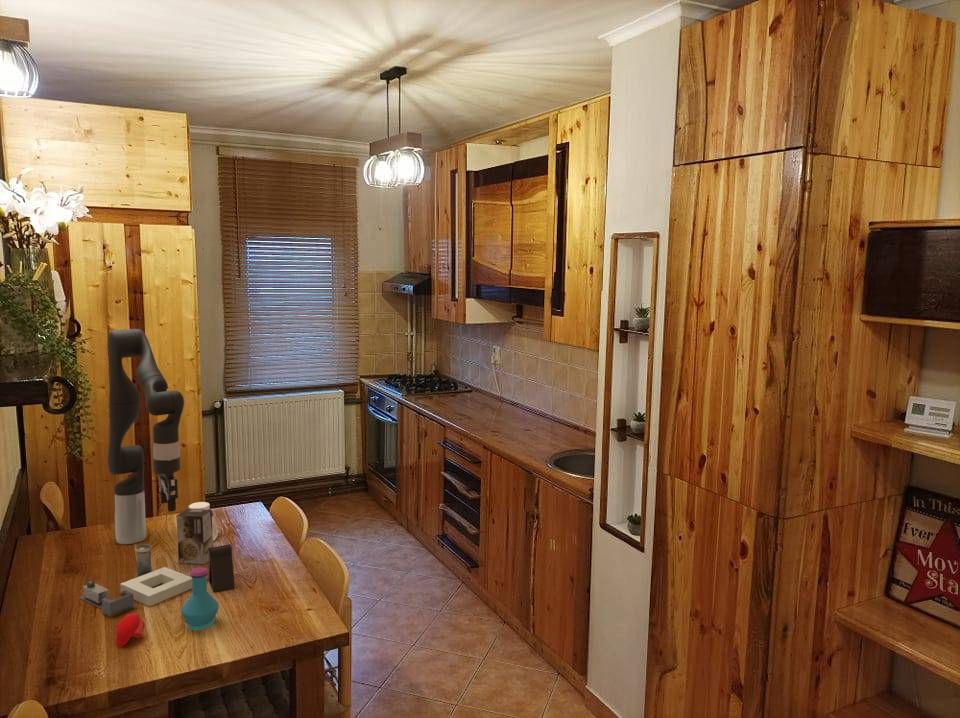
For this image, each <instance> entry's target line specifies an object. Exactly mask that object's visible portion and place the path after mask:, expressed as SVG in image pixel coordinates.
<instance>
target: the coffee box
mask: <svg viewBox="0 0 960 718" xmlns="http://www.w3.org/2000/svg"><path fill="white" fill-rule="evenodd" d="M212 511H213V510H212V509H211V510H200V509H189V508H186V509H184V510H182V511H181V512H179V513H178V514H177V515H175V516H176V517H175V518H176V532H177V533H176V534H177V553H178V554H177V555H178V556H177V557H178V563H179V564H194V565H195V564H197V565H205V564H207V563H208V562H209V548H212V547H214V544H213V543H214V542H213V536H212Z"/></svg>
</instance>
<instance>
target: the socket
mask: <svg viewBox="0 0 960 718" xmlns="http://www.w3.org/2000/svg"><path fill="white" fill-rule="evenodd" d="M119 584H120V594H121V595H122V591H124V590H126V591H128V592H130V593H133V597H134V601H136V602H138V603H140V604H144V605H145V606H148V607H151V606H154V605H156V604H158V603H161V602H163V601H165V600H168V599H171V598H173V597H175V596H177V595H180V594H183V593H184V592H187V591H190V590H192V578H191V576H189V575H186V574H183V573H181V572H178V571H176V570H173V569H171V568H168V567H166V566H163V567H161V568H158V569H155V570H153V571H151V572H150V573H147V574H145V575H142V576H139V577H137V576H136V577H134V578H131V579H129V580H125V581H124V582H121V583H119ZM158 585H159V586H158ZM155 586H156V587H155Z"/></svg>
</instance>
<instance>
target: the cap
mask: <svg viewBox="0 0 960 718" xmlns="http://www.w3.org/2000/svg"><path fill="white" fill-rule="evenodd" d="M115 631H116V632H115V634H116V635H115V636H116V638H115V643H116V646H117V647H118V648H122V647H123V646H125V645H127V643H128V642H129V641H130V638H131V637H136V638H138V639H142V637H143V635H144V631H145V621H144V620H143V619H142V618H140V615H139V614H136V613H133V612H131V613H129V614H126V615H124V616H123V618H121V620H120V621H119V622H118V623H117V624H116V630H115Z"/></svg>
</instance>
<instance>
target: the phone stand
mask: <svg viewBox="0 0 960 718" xmlns="http://www.w3.org/2000/svg"><path fill="white" fill-rule="evenodd" d="M232 548H233V547H232V545H231V544H224V545H218V546H213V547H212V548H209V561H208V562H209V563H208V571H209V572H208V578H207V581H208V583H209V585H210V588H211V590H212V593H219V592H224V591H228V590H233V589H236V588H235V587H236V586H235V576H234V575H235V573H234V561H233V549H232Z"/></svg>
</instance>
